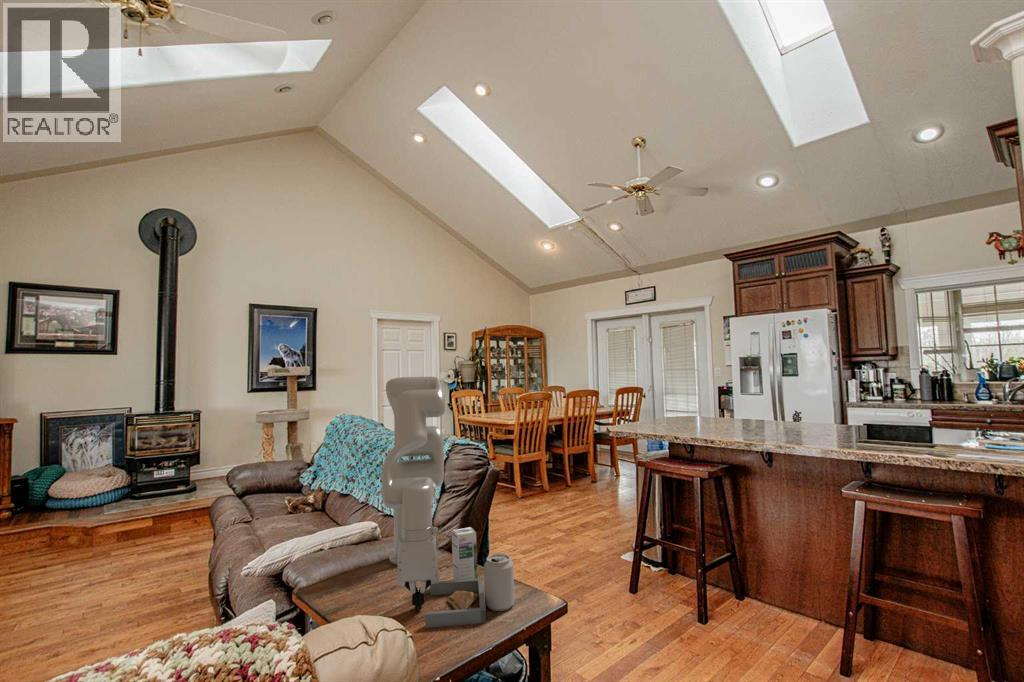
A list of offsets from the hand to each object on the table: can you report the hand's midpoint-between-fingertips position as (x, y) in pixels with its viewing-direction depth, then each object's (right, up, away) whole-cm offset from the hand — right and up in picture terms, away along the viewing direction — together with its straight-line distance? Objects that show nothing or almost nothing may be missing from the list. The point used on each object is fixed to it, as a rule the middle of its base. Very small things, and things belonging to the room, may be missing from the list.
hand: (418, 607), depth 122 cm
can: (+21, 0, +1) cm, 21 cm away
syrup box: (+10, -2, +16) cm, 19 cm away
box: (+10, 0, +1) cm, 10 cm away
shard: (+12, -1, +3) cm, 12 cm away
